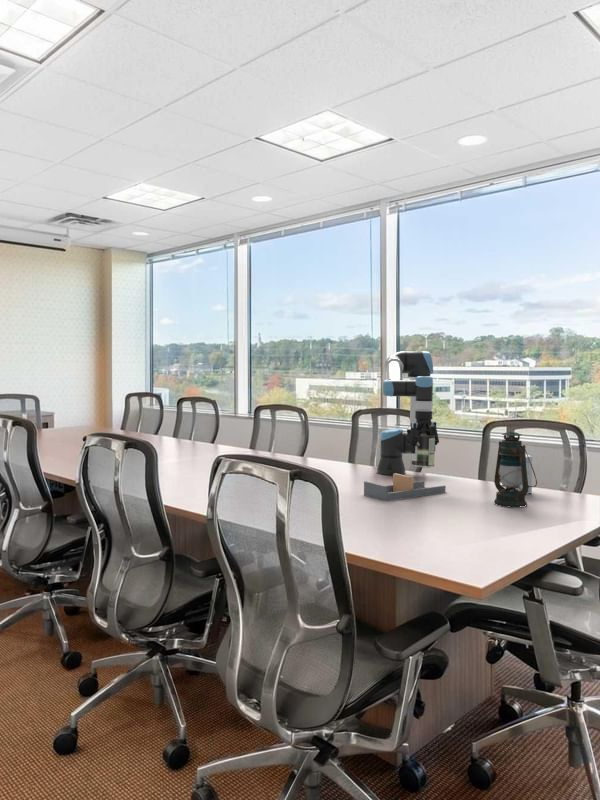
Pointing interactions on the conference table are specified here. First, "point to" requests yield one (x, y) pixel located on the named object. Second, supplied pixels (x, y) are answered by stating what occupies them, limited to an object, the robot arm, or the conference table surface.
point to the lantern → (511, 472)
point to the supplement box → (528, 474)
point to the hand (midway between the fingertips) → (423, 459)
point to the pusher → (402, 482)
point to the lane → (382, 491)
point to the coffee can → (425, 451)
